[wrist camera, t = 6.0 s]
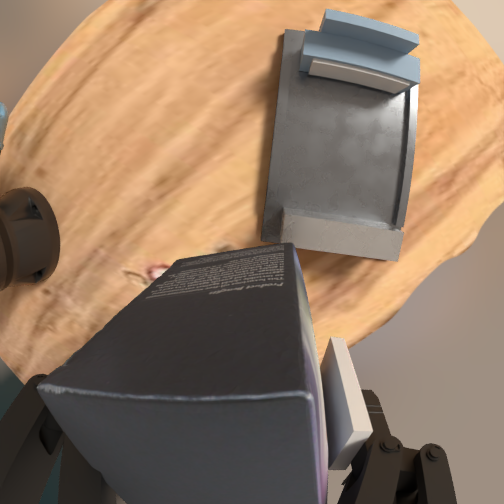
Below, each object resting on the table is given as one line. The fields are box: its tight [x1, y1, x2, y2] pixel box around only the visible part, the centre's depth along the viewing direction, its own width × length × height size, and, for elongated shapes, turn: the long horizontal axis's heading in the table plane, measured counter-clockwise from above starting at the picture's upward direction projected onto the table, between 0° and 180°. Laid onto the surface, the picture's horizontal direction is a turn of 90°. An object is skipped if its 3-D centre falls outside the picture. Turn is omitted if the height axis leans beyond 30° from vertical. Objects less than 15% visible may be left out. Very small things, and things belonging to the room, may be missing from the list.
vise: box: [261, 29, 418, 262], centre depth 27 cm, size 16×25×6 cm, turn 174°
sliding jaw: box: [299, 9, 420, 94], centre depth 22 cm, size 12×5×8 cm, turn 84°
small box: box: [37, 242, 328, 504], centre depth 10 cm, size 11×6×10 cm, turn 11°
